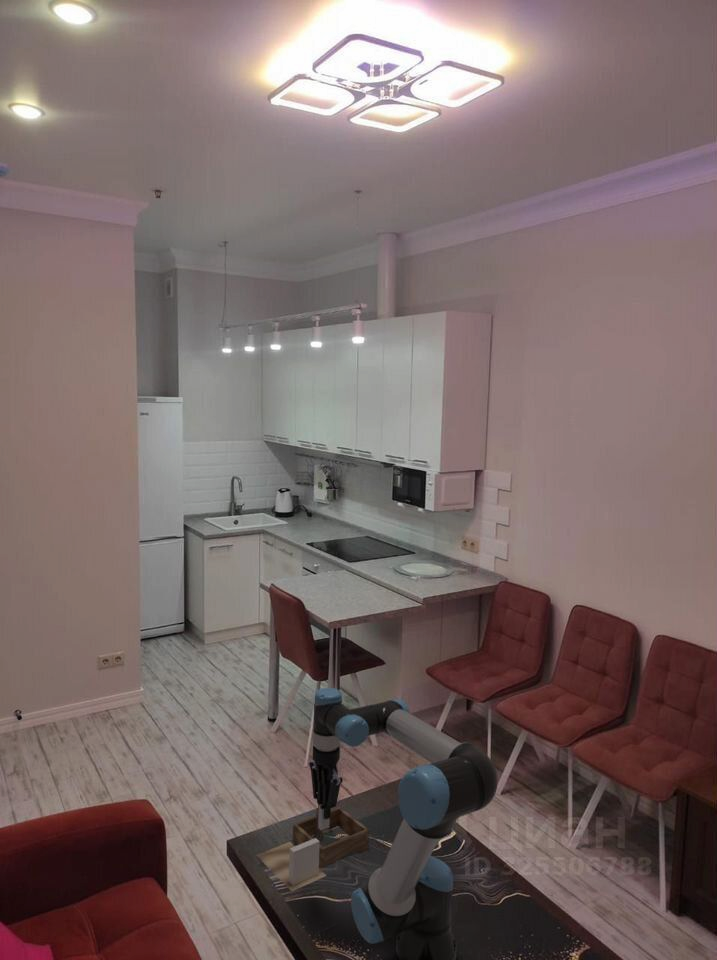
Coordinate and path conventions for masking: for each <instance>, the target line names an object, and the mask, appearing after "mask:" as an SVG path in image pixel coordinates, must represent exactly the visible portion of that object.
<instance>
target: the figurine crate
mask: <svg viewBox="0 0 717 960" xmlns="http://www.w3.org/2000/svg"><path fill="white" fill-rule="evenodd" d="M316 819H317V814H315V815H313V816H311V817H309V818H305V819H304V820H301V821H297V822H296V823H293V825H292V842H293V843H294V844H295V845H296V846H297V845H300V844H302V843H305V842H307V841H309V840H312V839H314V838H313V837H312V836H315V829H316V828H315V825H316ZM336 826H339V827H340V828H341V829H342V830H343V831H345V832H346V833H347V834H348V836H344V837H342V838H339V840H337V841H334V842H331V843H330V844H327V845H325V846H323V845H321V844H319V867H320V868H324V867H326V866H328V865H330V864H332V863H335V862H337V861H339V860H342V859H344V858H346V857H349V856H350V855H353V854H355V853H357V854H359V853H361V852H364V851H366V850H368V849H370V848H369V847H370V829H369V828H368V827H366V826H365V825H364V824H363V823H361V822H360V821H359V820H357V819H356V818H355V817H353V816H352V815H351V814H349V813H348V812H347V811H346V810H344V809H343V808H342V807H341V806H336V807H333V808H331V814H330V823H329V828H326V829H324V830H323V831H326V830H329V831H330V829H332V828H334V827H336ZM340 832H341V831H340ZM337 833H339V832H337ZM337 833H335V834H337ZM335 834H334V835H335ZM341 835H342V834H341ZM339 836H340V835H339Z"/></svg>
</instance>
